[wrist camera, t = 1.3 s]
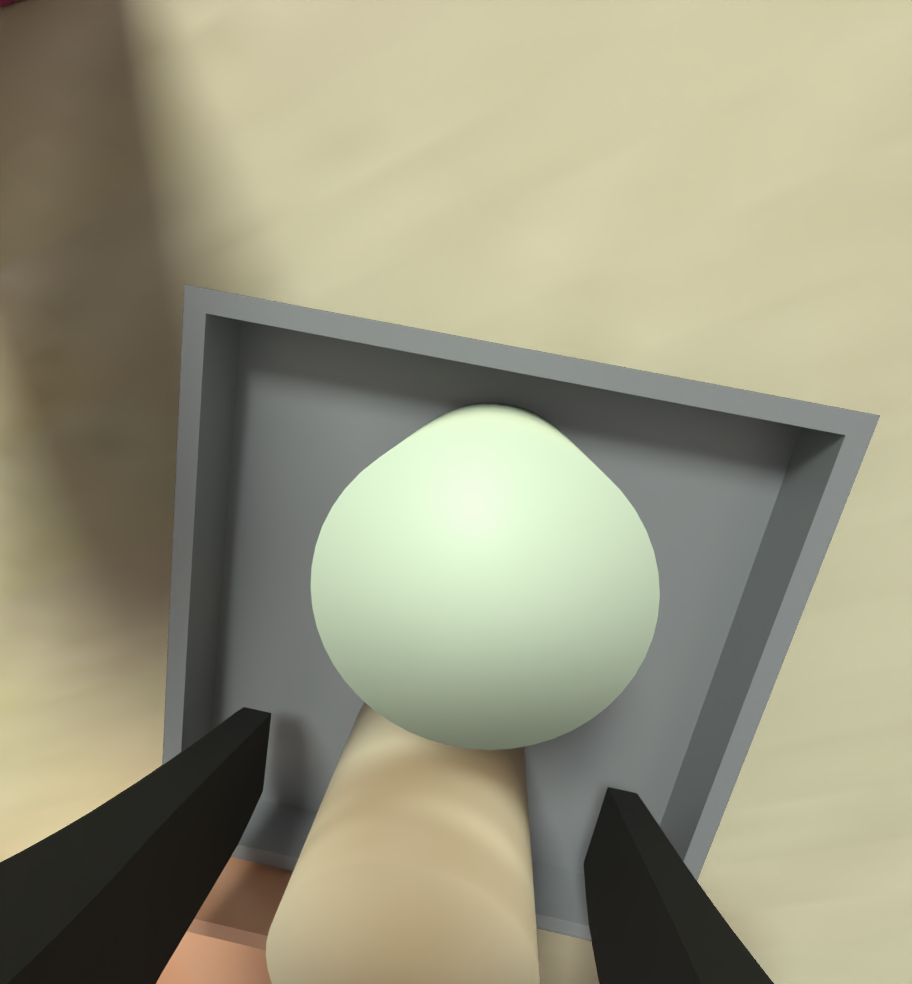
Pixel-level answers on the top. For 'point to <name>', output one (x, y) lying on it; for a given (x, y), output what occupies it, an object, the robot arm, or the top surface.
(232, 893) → the bowl
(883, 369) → the top surface
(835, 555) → the top surface
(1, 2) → the cup
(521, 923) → the beige rounded cylinder
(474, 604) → the mint green rounded cylinder
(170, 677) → the tray
